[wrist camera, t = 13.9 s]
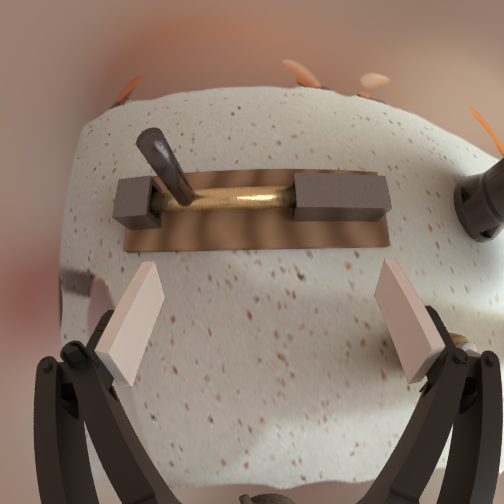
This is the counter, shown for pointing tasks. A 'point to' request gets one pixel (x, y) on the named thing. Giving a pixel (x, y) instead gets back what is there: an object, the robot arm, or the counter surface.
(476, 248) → the counter surface
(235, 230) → the base board
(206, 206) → the sliding bolt
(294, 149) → the counter surface
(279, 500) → the beer stein
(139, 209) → the socket
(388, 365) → the counter surface
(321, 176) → the outer sleeve
